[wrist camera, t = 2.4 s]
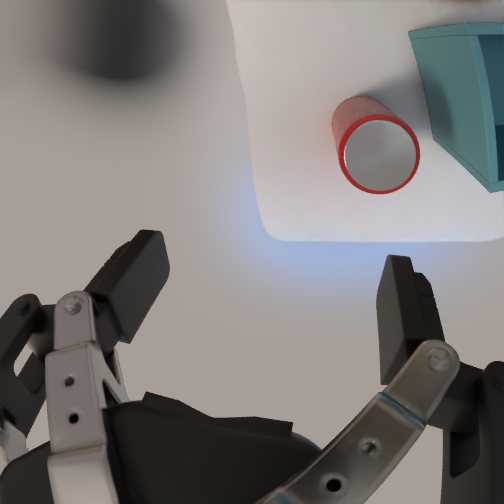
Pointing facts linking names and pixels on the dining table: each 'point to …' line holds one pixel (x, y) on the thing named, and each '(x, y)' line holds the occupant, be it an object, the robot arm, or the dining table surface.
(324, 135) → the dining table surface
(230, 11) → the dining table surface
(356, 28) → the dining table surface
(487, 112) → the teal open box
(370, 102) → the can
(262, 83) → the dining table surface
